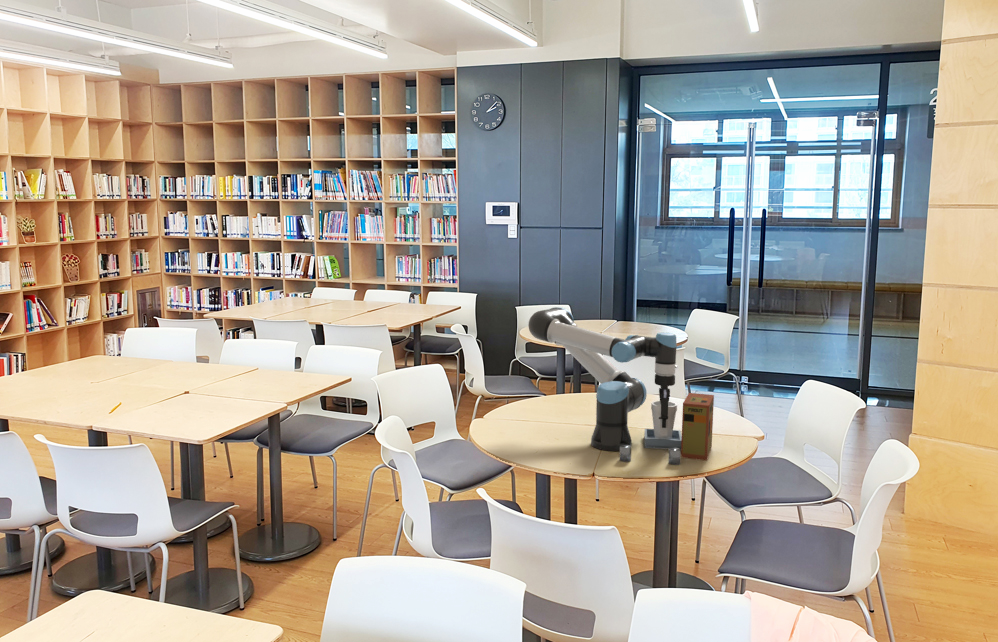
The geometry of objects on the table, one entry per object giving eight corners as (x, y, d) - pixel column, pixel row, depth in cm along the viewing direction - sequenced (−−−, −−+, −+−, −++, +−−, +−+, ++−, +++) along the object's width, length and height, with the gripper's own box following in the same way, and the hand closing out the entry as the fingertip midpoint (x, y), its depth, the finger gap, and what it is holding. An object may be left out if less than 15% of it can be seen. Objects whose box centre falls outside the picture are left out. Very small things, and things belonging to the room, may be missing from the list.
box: (687, 444, 284) (689, 392, 282) (711, 447, 281) (713, 395, 278) (680, 457, 269) (682, 403, 266) (706, 460, 266) (709, 405, 263)
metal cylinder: (619, 461, 264) (619, 447, 264) (619, 458, 268) (619, 444, 267) (630, 462, 264) (631, 448, 263) (630, 458, 267) (631, 445, 267)
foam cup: (677, 441, 280) (679, 407, 278) (653, 440, 280) (654, 406, 279) (672, 433, 290) (673, 400, 288) (648, 433, 290) (649, 400, 288)
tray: (644, 447, 280) (644, 438, 279) (644, 437, 293) (644, 428, 293) (682, 449, 277) (682, 440, 277) (680, 439, 291) (680, 430, 290)
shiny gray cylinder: (668, 464, 261) (669, 450, 261) (668, 461, 265) (668, 447, 264) (680, 465, 261) (681, 451, 260) (679, 461, 264) (680, 448, 264)
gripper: (676, 380, 270) (674, 441, 273) (674, 368, 292) (671, 424, 295) (655, 379, 271) (653, 439, 275) (654, 367, 293) (652, 423, 296)
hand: (662, 431), depth 285 cm, fingers closed on foam cup, 9 cm apart
